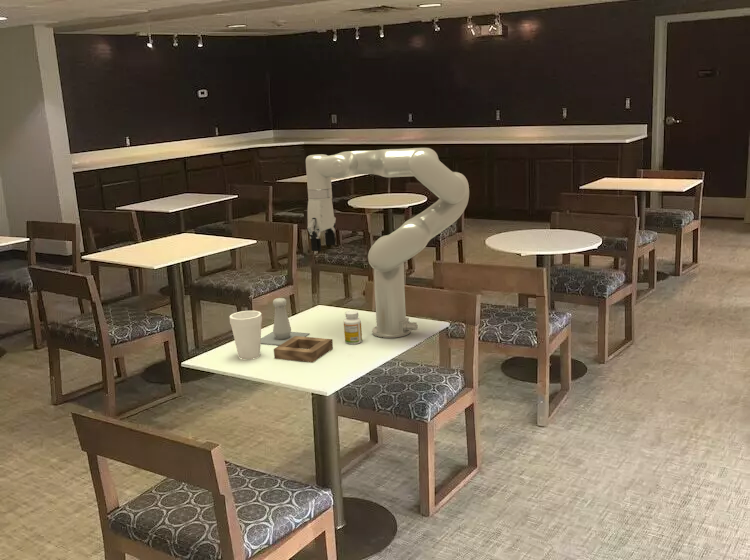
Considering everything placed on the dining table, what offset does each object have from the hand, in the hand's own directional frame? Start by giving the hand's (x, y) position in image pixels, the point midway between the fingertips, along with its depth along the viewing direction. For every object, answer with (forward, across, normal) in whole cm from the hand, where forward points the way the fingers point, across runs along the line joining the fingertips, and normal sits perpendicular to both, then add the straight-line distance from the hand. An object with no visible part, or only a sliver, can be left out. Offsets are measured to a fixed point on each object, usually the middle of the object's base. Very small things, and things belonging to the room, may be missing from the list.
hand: (323, 247), depth 244 cm
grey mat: (+28, +10, -12) cm, 32 cm away
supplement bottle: (+28, +7, +12) cm, 32 cm away
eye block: (+28, +21, +2) cm, 35 cm away
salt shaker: (+28, +10, -12) cm, 32 cm away
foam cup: (+28, +28, -13) cm, 42 cm away
